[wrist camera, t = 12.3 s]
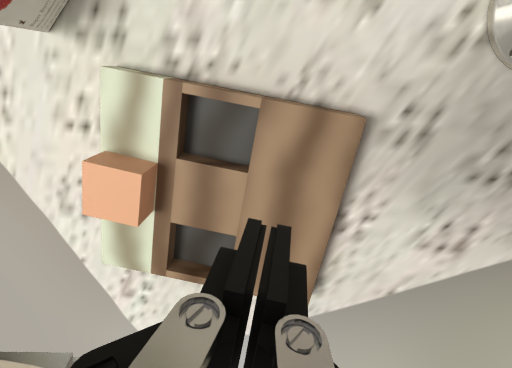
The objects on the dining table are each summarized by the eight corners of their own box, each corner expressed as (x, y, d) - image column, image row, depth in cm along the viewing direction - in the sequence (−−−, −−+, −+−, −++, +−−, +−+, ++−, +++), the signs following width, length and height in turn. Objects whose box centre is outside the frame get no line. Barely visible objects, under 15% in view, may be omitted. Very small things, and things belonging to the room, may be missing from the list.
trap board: (359, 114, 32) (366, 119, 30) (306, 290, 41) (307, 306, 38) (115, 66, 33) (100, 66, 30) (113, 249, 42) (101, 262, 39)
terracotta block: (157, 163, 33) (141, 174, 30) (153, 210, 36) (137, 227, 32) (105, 150, 33) (82, 160, 30) (103, 199, 36) (82, 214, 32)
